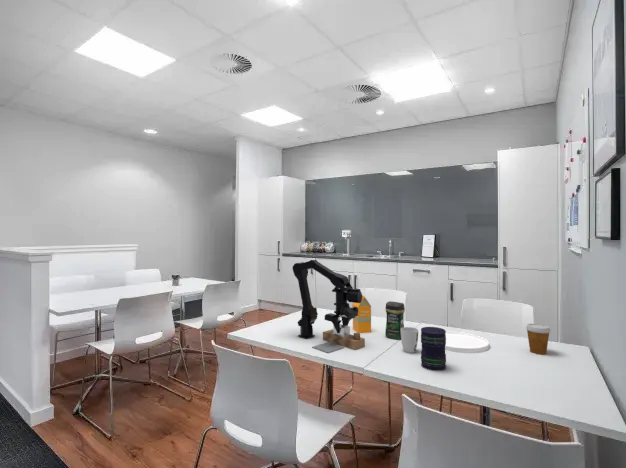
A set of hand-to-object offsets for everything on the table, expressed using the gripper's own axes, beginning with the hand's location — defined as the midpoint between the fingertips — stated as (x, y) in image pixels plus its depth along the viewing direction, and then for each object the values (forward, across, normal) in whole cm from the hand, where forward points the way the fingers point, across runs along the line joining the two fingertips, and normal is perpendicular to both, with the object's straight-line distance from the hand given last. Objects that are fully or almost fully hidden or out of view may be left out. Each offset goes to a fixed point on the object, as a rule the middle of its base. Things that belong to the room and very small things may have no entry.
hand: (341, 332), depth 176 cm
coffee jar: (+5, +27, -13) cm, 30 cm away
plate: (+6, +41, -40) cm, 58 cm away
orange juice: (+6, +24, +7) cm, 26 cm away
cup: (+5, +14, -30) cm, 34 cm away
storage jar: (+5, +5, -47) cm, 48 cm away
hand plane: (+5, 0, -1) cm, 5 cm away
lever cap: (+1, 0, 0) cm, 1 cm away
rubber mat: (+5, -10, -1) cm, 12 cm away
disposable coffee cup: (+5, +55, -71) cm, 90 cm away
